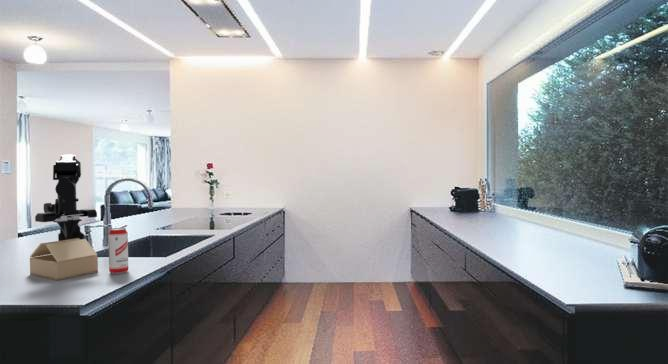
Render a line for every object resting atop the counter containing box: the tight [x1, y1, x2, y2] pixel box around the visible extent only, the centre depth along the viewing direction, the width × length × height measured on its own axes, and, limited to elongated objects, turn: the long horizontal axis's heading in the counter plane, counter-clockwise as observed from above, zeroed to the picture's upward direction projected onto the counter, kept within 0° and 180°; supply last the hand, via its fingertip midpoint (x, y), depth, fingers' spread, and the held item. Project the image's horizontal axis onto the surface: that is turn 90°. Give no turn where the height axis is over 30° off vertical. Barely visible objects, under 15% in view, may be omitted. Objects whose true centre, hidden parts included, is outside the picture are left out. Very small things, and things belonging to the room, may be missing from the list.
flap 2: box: [46, 238, 98, 262], centre depth 154 cm, size 14×9×1 cm
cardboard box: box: [29, 254, 99, 281], centre depth 157 cm, size 14×18×6 cm
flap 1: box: [29, 238, 80, 258], centre depth 160 cm, size 14×9×1 cm
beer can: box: [107, 227, 129, 275], centre depth 157 cm, size 6×6×16 cm
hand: (68, 239), depth 156 cm, fingers closed
